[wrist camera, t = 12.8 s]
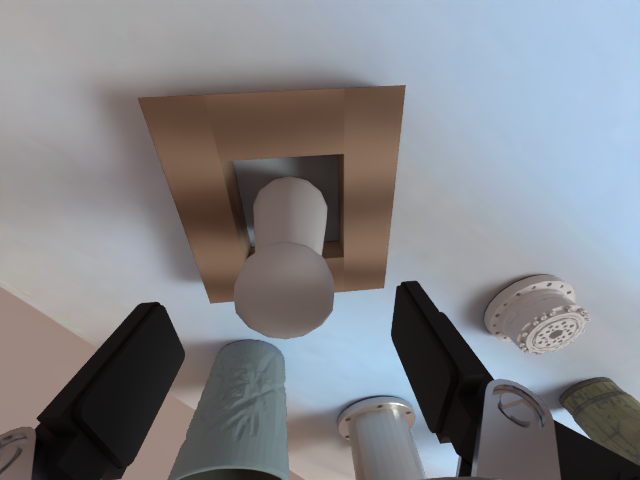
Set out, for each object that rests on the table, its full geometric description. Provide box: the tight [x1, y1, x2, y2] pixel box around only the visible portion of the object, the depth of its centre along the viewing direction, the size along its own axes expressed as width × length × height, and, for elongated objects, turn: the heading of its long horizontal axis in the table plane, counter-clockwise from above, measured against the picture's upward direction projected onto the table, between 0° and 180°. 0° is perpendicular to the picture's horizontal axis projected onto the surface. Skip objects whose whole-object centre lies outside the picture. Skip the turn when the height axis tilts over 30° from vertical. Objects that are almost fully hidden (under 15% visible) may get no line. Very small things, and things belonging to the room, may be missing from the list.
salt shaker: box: [234, 176, 335, 339], centre depth 15 cm, size 6×6×13 cm
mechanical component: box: [484, 275, 590, 355], centre depth 28 cm, size 10×4×10 cm
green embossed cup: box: [168, 339, 289, 480], centre depth 25 cm, size 10×10×12 cm
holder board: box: [138, 85, 406, 303], centre depth 19 cm, size 16×16×3 cm
